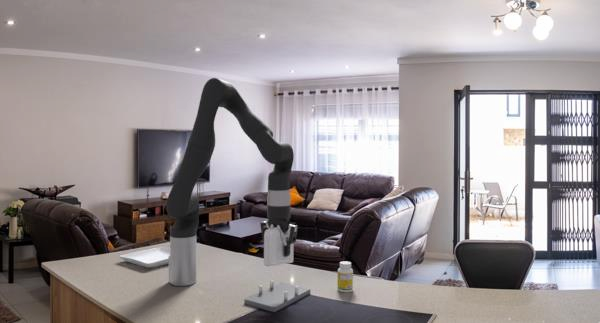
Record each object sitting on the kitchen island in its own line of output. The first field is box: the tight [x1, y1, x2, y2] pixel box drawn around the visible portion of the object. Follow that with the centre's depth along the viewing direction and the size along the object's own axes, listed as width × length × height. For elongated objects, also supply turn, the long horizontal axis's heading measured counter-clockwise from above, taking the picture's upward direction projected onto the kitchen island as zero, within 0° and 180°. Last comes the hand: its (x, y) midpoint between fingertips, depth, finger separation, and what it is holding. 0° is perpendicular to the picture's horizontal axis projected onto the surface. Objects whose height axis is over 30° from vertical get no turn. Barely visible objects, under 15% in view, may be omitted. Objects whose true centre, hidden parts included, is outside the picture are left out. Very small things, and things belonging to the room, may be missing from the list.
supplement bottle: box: [337, 260, 354, 293], centre depth 149 cm, size 5×5×10 cm
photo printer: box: [263, 227, 295, 267], centre depth 140 cm, size 10×4×12 cm, turn 124°
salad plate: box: [119, 246, 170, 269], centre depth 184 cm, size 21×21×3 cm
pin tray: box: [243, 280, 311, 313], centre depth 141 cm, size 12×20×4 cm, turn 146°
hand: (278, 254), depth 140 cm, fingers closed on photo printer, 5 cm apart
